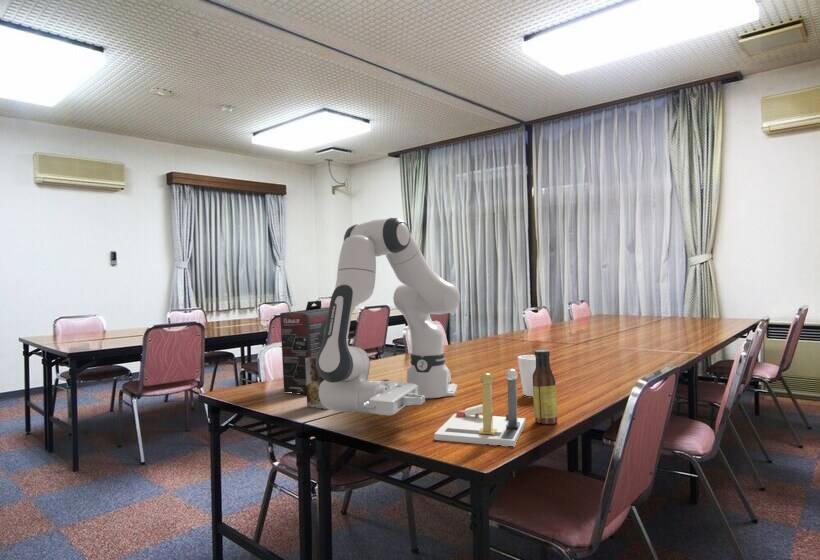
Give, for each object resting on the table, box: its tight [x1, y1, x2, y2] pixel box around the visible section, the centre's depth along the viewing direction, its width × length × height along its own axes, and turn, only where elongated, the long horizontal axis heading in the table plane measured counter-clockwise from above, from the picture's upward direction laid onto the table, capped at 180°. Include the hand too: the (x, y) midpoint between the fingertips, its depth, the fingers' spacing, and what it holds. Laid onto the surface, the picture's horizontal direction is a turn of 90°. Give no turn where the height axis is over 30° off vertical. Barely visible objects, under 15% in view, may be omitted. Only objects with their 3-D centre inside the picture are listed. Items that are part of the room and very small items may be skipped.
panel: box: [433, 409, 527, 448], centre depth 135 cm, size 20×20×3 cm
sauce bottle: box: [532, 349, 559, 425], centre depth 142 cm, size 7×6×20 cm
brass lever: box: [479, 372, 497, 435], centre depth 128 cm, size 3×4×15 cm
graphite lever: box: [505, 368, 520, 429], centre depth 133 cm, size 4×3×15 cm
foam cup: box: [517, 354, 536, 397], centre depth 173 cm, size 10×9×13 cm
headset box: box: [279, 300, 329, 395], centre depth 194 cm, size 24×13×33 cm, turn 154°
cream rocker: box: [464, 403, 483, 417], centre depth 143 cm, size 3×6×2 cm, turn 70°
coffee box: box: [305, 355, 329, 410], centre depth 166 cm, size 9×6×16 cm
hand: (423, 400), depth 134 cm, fingers closed
